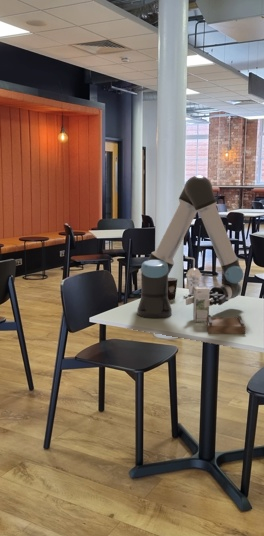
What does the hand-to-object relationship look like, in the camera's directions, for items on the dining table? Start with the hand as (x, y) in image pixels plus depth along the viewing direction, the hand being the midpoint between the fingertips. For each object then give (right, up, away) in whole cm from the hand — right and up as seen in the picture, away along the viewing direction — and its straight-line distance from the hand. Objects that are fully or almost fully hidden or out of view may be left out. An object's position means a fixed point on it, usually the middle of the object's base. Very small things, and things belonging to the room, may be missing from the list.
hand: (195, 303), depth 217 cm
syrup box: (+3, -8, +5) cm, 10 cm away
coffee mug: (-9, -1, +50) cm, 51 cm away
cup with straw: (+6, 0, +60) cm, 61 cm away
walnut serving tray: (+11, -10, -7) cm, 16 cm away
